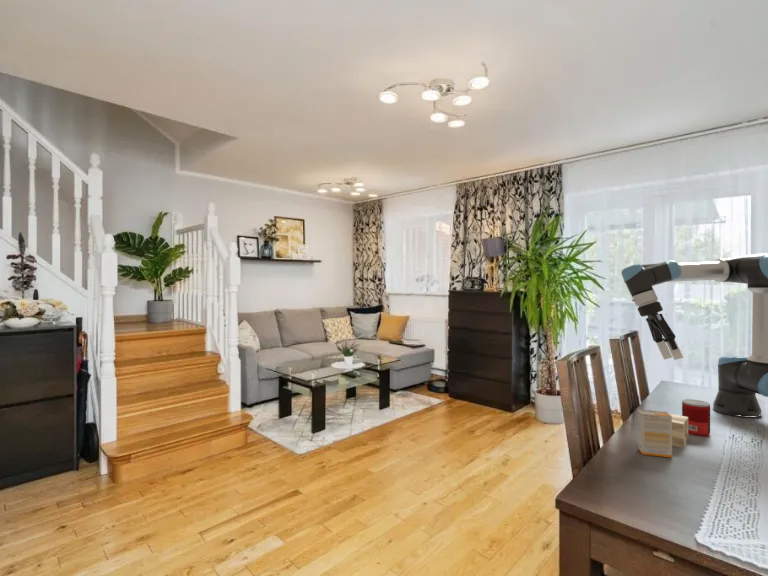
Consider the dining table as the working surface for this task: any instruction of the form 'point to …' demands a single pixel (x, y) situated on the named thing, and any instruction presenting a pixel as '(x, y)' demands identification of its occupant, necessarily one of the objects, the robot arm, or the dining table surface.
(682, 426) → the beech block
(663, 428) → the supplement box
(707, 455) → the dining table surface
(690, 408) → the canned food
